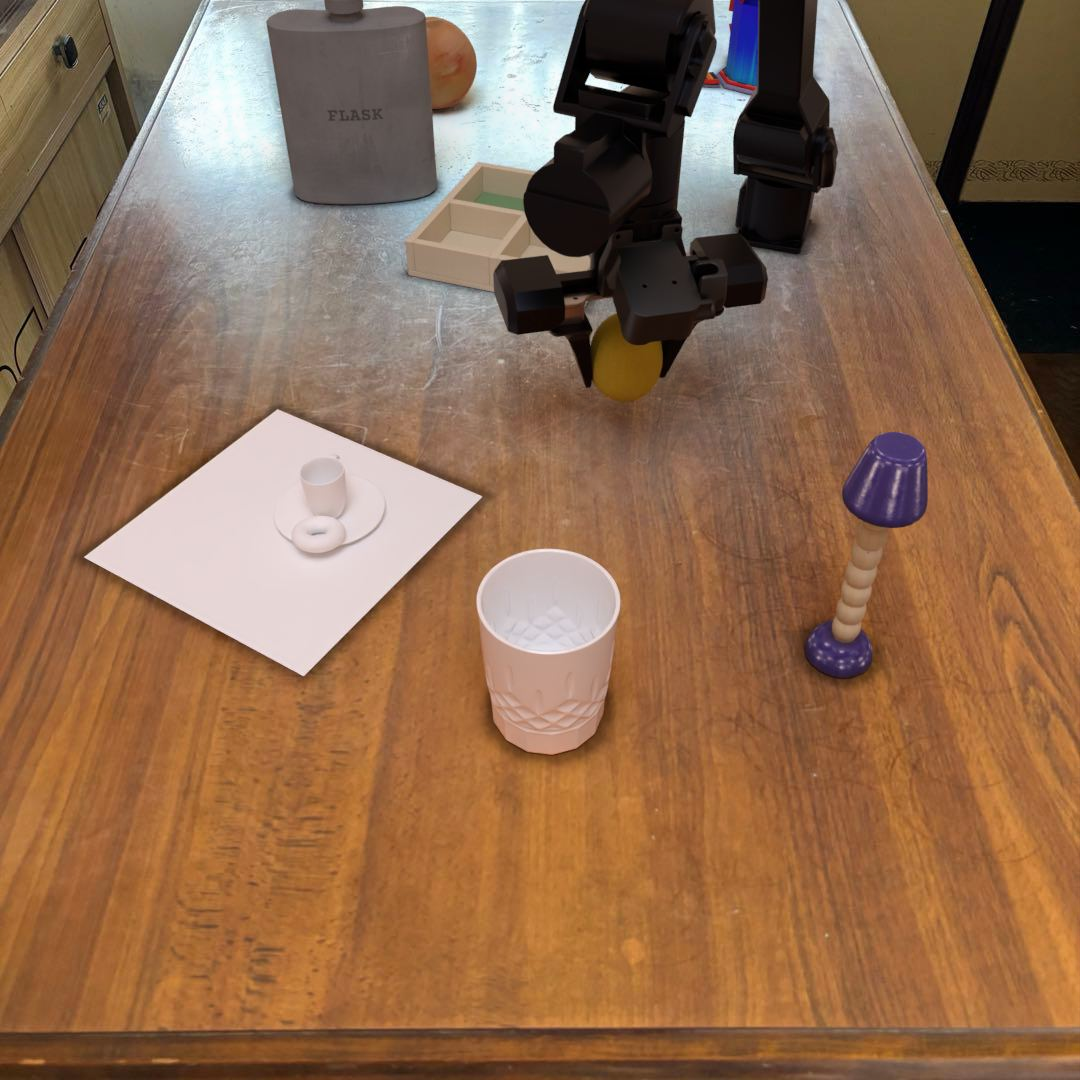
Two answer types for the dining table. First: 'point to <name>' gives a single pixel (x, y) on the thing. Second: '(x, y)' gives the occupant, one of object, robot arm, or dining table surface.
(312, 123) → the flask
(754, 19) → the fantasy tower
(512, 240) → the tray
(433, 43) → the onion
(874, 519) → the toy lamp
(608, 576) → the white cup
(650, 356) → the lemon
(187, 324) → the dining table surface
